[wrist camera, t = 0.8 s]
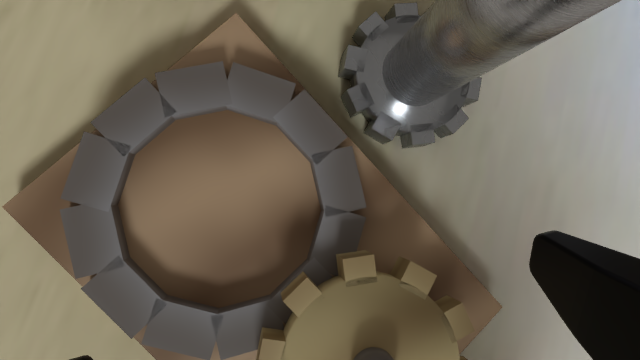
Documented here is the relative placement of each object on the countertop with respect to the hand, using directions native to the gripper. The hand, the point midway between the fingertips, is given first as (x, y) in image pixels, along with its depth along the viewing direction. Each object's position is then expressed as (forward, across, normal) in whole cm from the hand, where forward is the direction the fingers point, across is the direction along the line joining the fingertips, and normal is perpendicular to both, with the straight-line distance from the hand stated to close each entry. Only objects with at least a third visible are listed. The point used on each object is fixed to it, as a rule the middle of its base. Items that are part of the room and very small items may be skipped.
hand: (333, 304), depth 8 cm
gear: (+15, -8, +1) cm, 17 cm away
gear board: (+11, +1, +7) cm, 13 cm away
